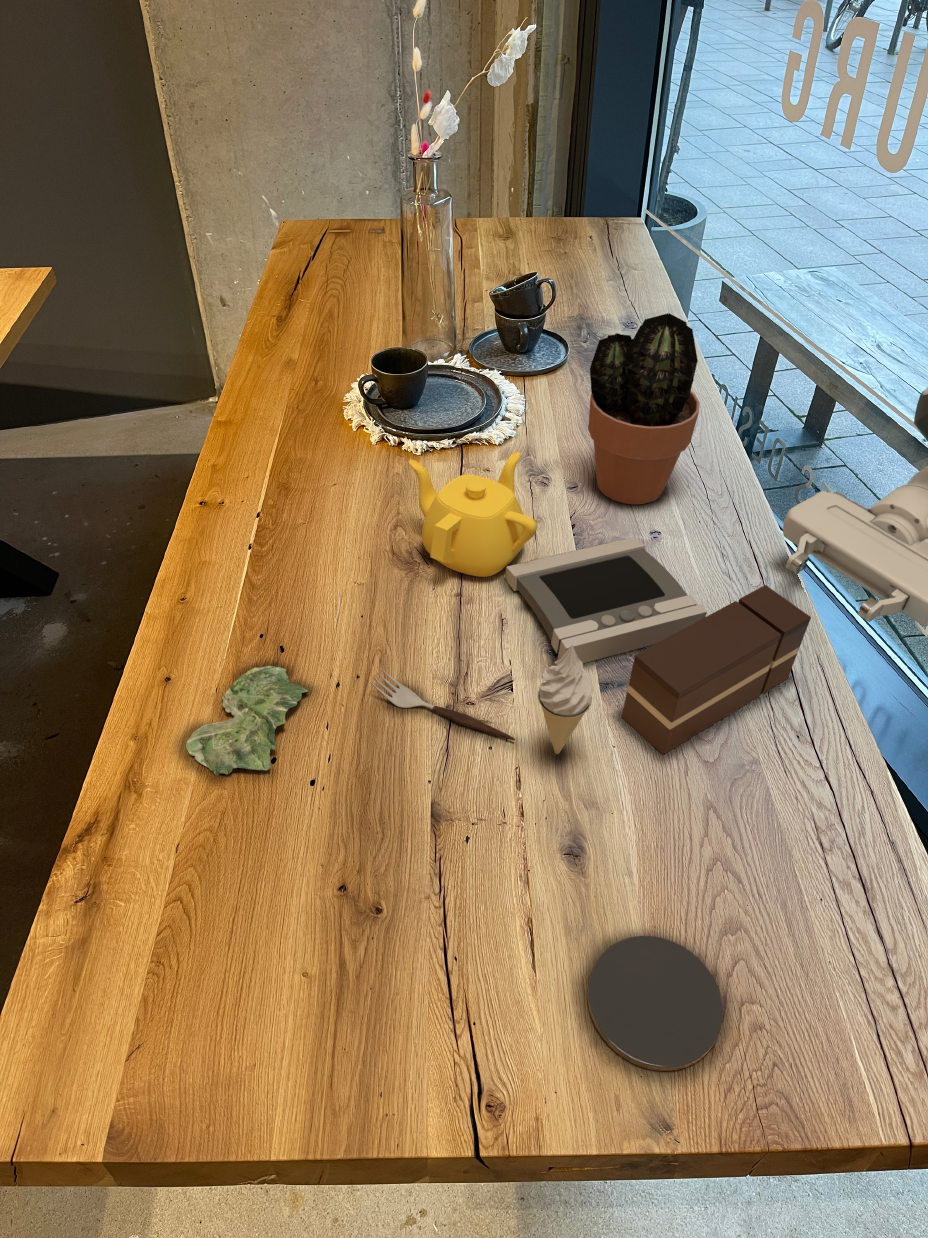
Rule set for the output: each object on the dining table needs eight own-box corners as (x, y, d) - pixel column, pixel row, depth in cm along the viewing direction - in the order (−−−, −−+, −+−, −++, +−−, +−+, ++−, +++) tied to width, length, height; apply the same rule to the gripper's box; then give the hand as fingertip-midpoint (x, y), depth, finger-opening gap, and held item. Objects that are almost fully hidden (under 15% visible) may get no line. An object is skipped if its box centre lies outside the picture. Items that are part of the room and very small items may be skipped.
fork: (509, 752, 90) (510, 739, 88) (369, 695, 95) (368, 682, 93) (520, 734, 91) (521, 721, 90) (382, 679, 96) (381, 666, 95)
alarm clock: (565, 648, 96) (506, 547, 106) (560, 676, 99) (503, 575, 109) (707, 611, 100) (637, 518, 110) (697, 639, 104) (630, 546, 114)
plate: (702, 937, 76) (704, 933, 75) (736, 1068, 68) (739, 1064, 68) (578, 942, 75) (579, 938, 75) (598, 1075, 68) (599, 1070, 67)
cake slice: (745, 645, 101) (765, 584, 95) (787, 678, 98) (811, 617, 92) (720, 660, 100) (739, 598, 93) (762, 694, 96) (784, 632, 90)
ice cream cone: (527, 767, 88) (538, 658, 78) (536, 728, 92) (549, 619, 82) (578, 777, 88) (597, 669, 77) (586, 738, 91) (605, 629, 81)
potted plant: (656, 452, 130) (689, 279, 113) (698, 508, 120) (741, 327, 103) (565, 465, 127) (585, 289, 110) (601, 522, 117) (629, 339, 100)
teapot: (515, 513, 118) (519, 447, 112) (539, 579, 109) (546, 511, 102) (409, 522, 117) (408, 456, 110) (424, 591, 107) (424, 522, 100)
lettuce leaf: (264, 786, 86) (262, 776, 85) (172, 766, 87) (169, 756, 86) (320, 674, 97) (318, 664, 96) (237, 658, 98) (234, 647, 97)
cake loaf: (717, 662, 99) (735, 600, 93) (759, 696, 96) (781, 634, 90) (621, 716, 93) (634, 654, 87) (662, 755, 90) (679, 693, 84)
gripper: (833, 466, 108) (756, 520, 103) (995, 558, 97) (918, 623, 92) (820, 506, 113) (746, 559, 108) (973, 598, 102) (899, 662, 97)
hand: (827, 590), depth 100 cm, fingers open, 8 cm apart
